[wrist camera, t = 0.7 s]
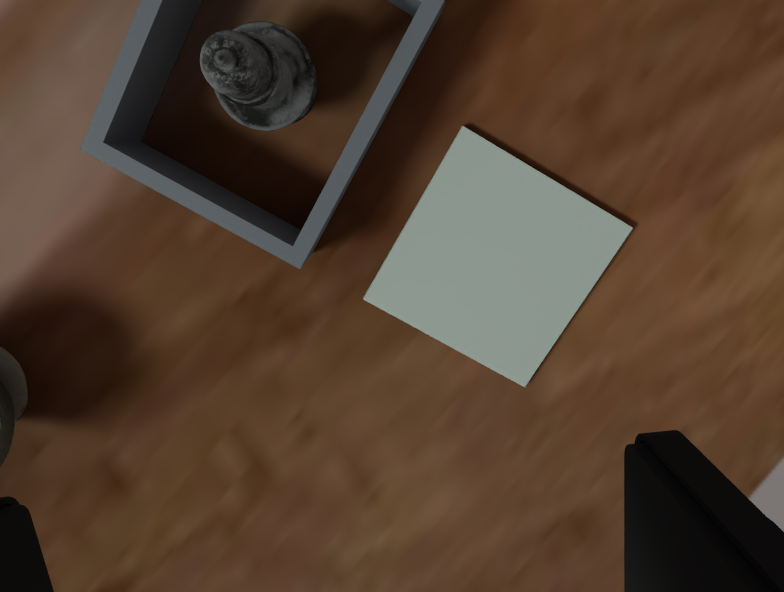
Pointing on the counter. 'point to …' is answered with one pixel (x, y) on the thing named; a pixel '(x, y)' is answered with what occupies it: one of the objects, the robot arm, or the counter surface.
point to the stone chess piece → (260, 74)
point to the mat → (495, 258)
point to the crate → (152, 168)
